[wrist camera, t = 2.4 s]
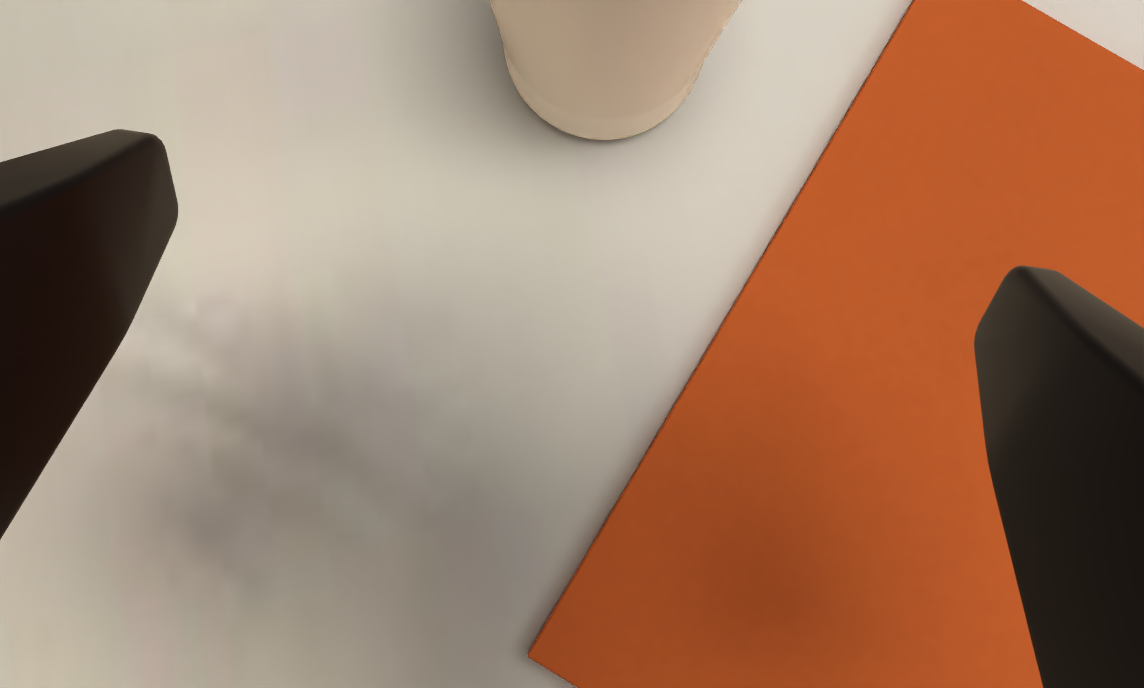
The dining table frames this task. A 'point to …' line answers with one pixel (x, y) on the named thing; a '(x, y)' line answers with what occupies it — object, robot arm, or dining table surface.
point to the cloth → (871, 385)
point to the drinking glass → (607, 58)
